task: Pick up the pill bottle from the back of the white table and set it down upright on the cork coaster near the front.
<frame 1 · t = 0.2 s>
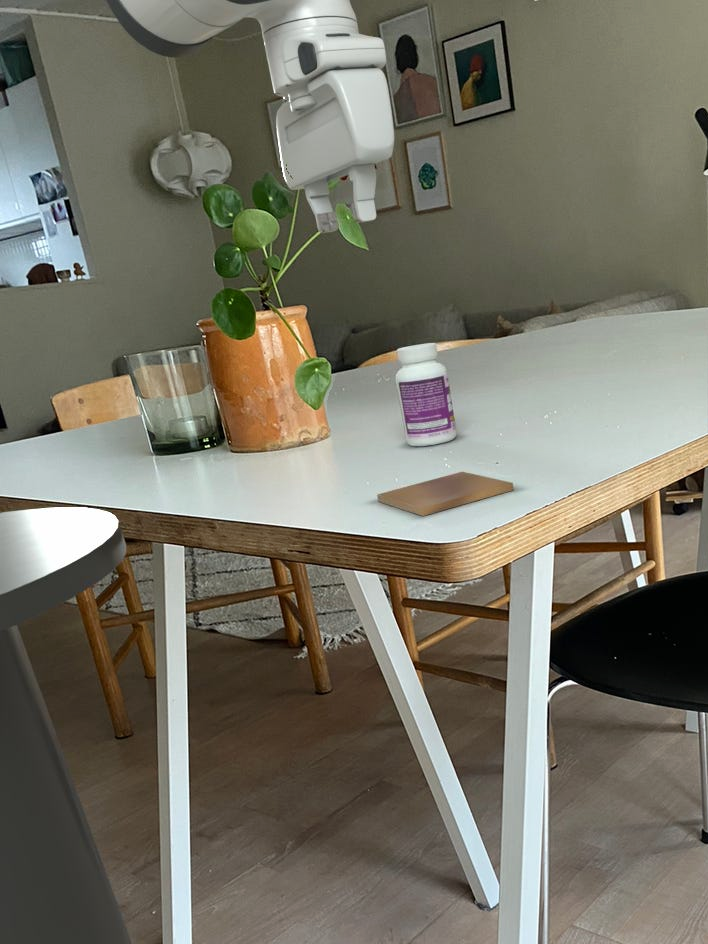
hand: (346, 227, 92), 22 cm above the table, tool pointing down, fingers open, 8 cm apart
pill bottle: (432, 443, 97), on the table
coaster: (444, 496, 73), on the table
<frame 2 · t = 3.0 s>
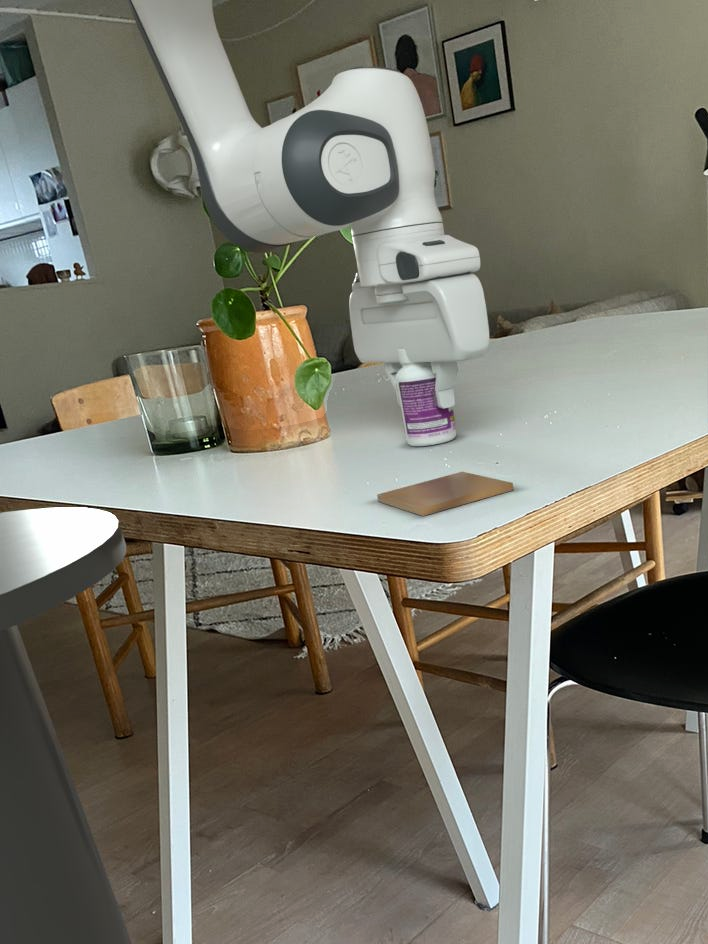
hand: (426, 406, 95), 4 cm above the table, tool pointing down, fingers closed on pill bottle, 5 cm apart
pill bottle: (432, 443, 97), on the table, touching gripper
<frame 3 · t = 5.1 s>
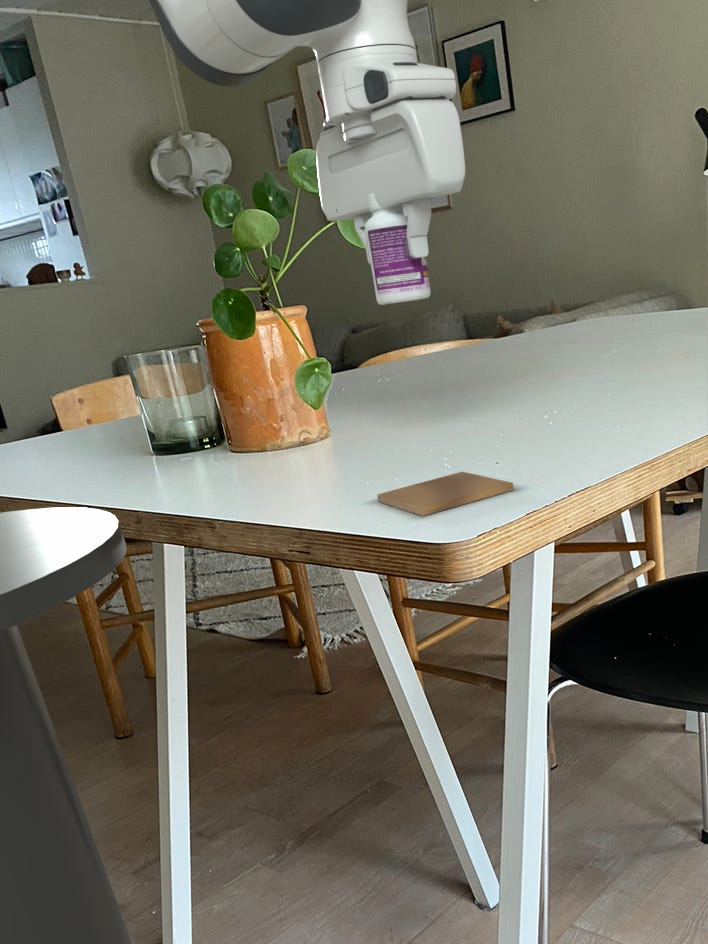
hand: (398, 261, 88), 18 cm above the table, tool pointing down, fingers closed on pill bottle, 5 cm apart
pill bottle: (405, 303, 90), point 14 cm above the table, touching gripper
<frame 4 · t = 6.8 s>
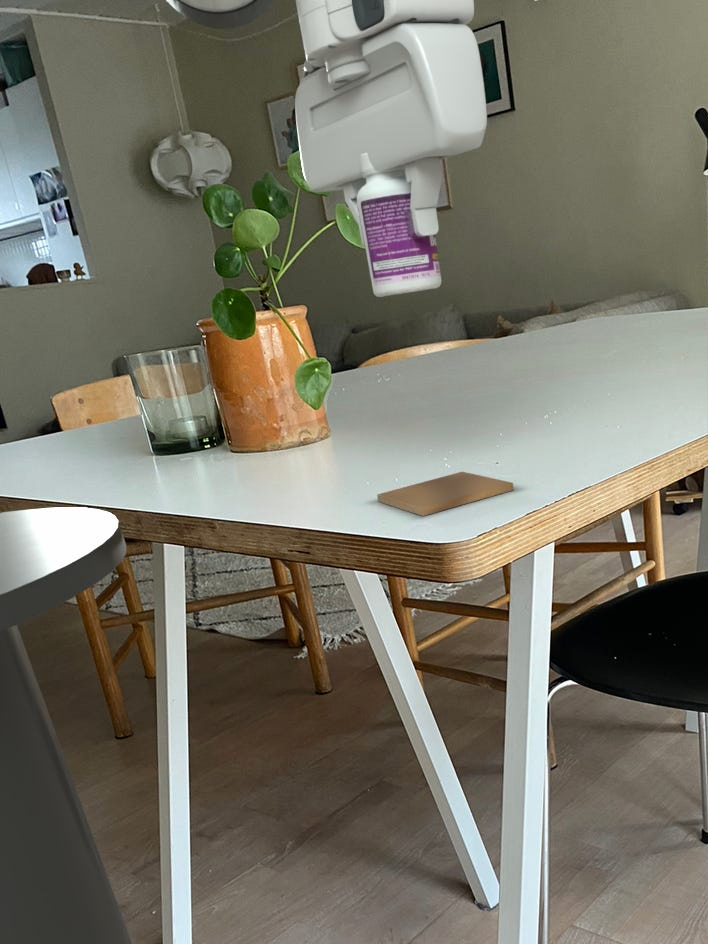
hand: (400, 241, 69), 19 cm above the table, tool pointing down, fingers closed on pill bottle, 5 cm apart
pill bottle: (409, 295, 71), point 15 cm above the table, touching gripper
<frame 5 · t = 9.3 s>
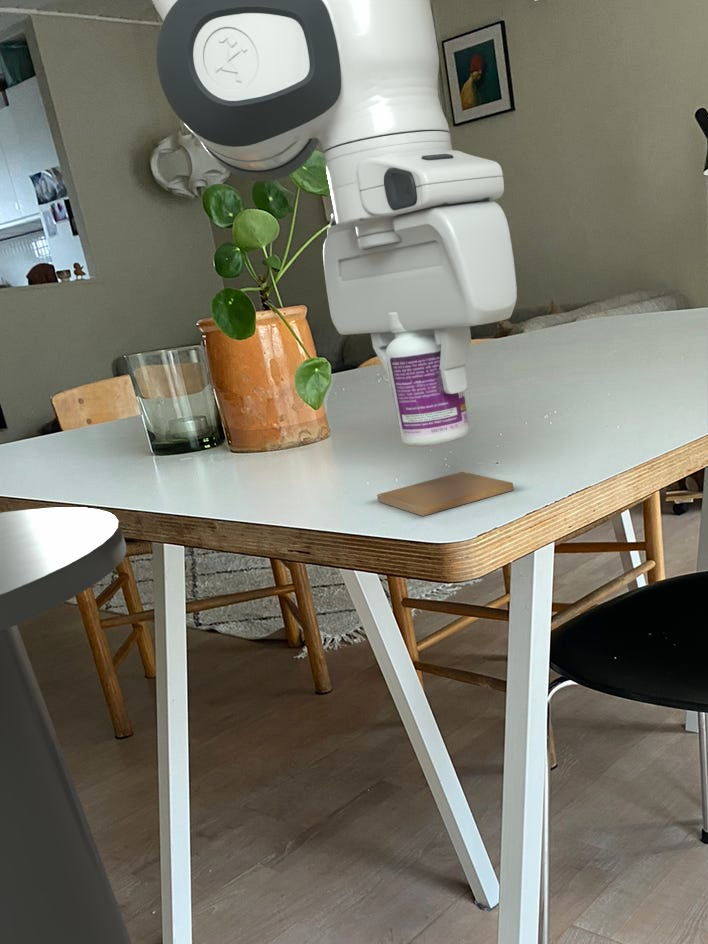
hand: (428, 391, 70), 8 cm above the table, tool pointing down, fingers closed on pill bottle, 5 cm apart
pill bottle: (437, 441, 71), point 4 cm above the table, touching gripper
when the fingers open (4 cm above the table, at t = 10.8 s): pill bottle stays where it is, resting on coaster.
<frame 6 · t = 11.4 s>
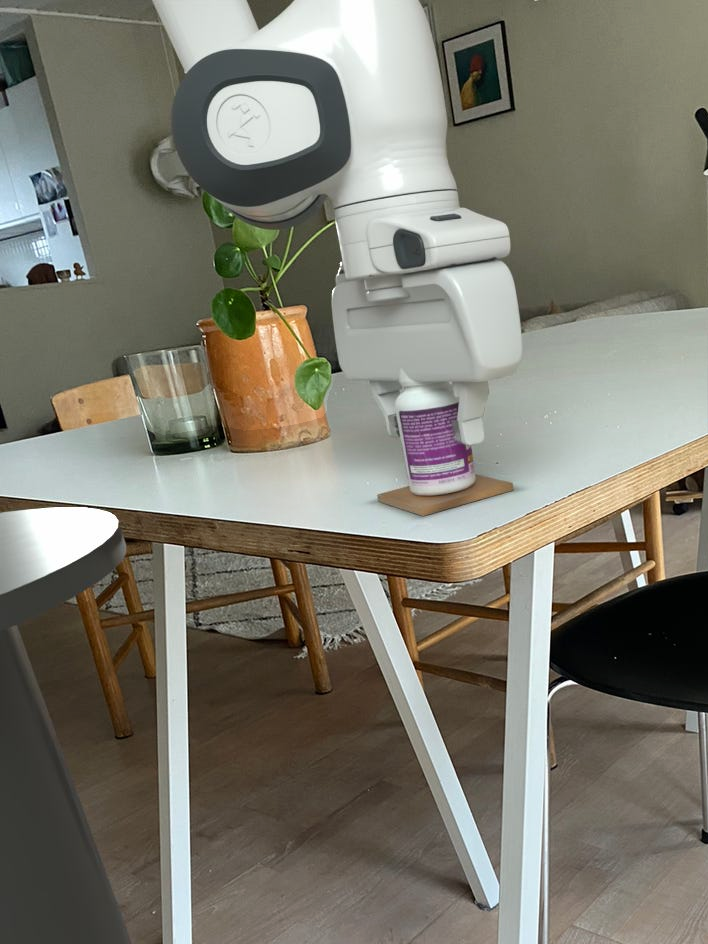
hand: (434, 439, 71), 4 cm above the table, tool pointing down, fingers open, 8 cm apart
pill bottle: (444, 490, 73), resting on coaster
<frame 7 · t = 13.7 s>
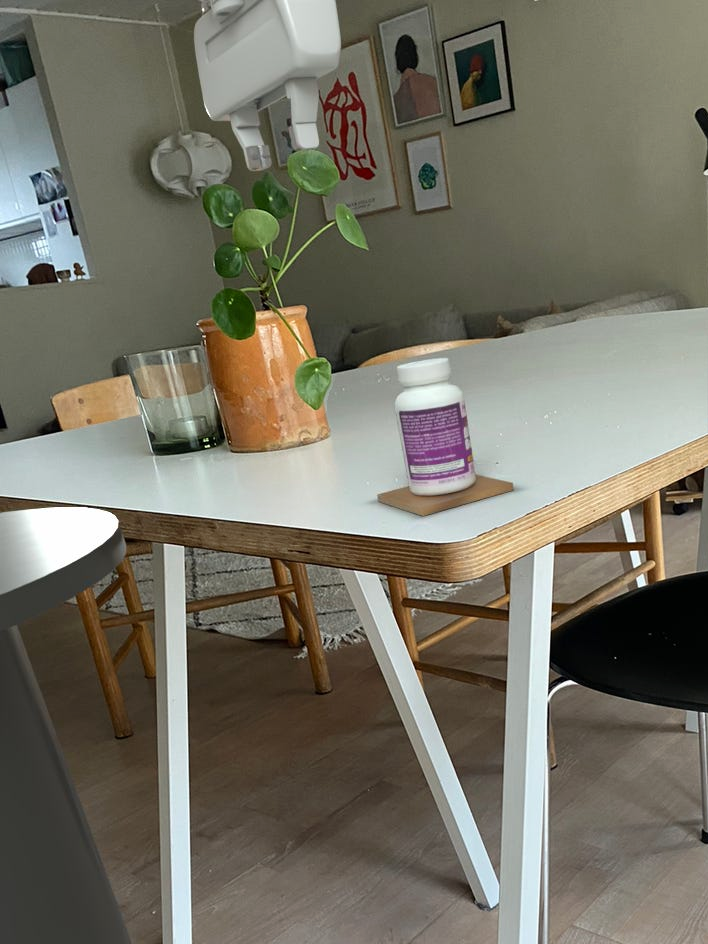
hand: (282, 160, 78), 27 cm above the table, tool pointing down, fingers open, 8 cm apart
nothing on the table moved.
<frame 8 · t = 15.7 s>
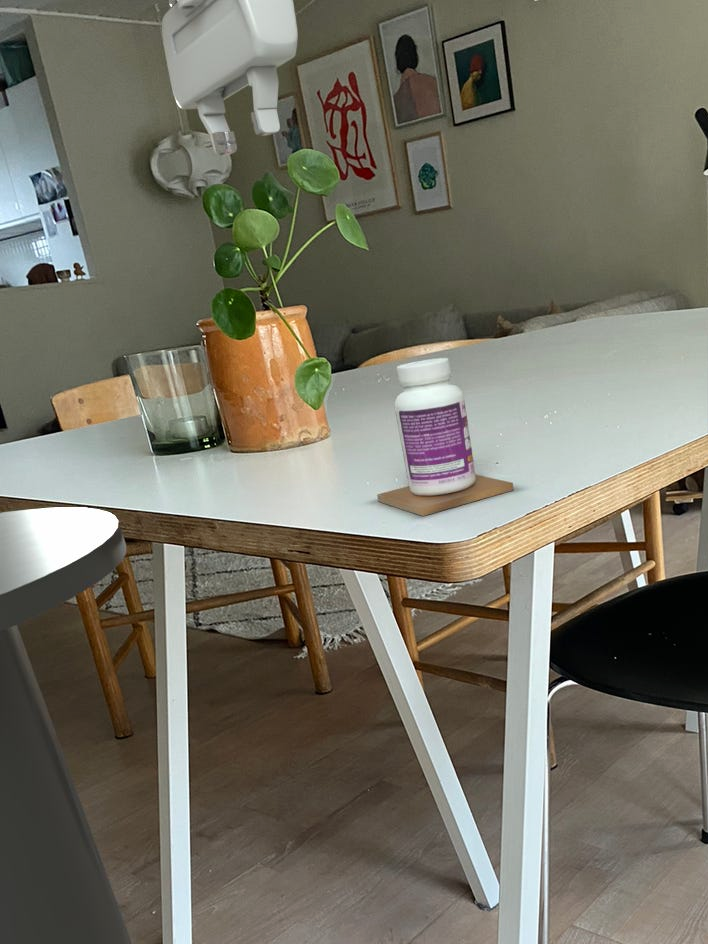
hand: (246, 144, 83), 29 cm above the table, tool pointing down, fingers open, 8 cm apart
nothing on the table moved.
at the end: pill bottle 0.1 cm off-centre on the coaster, point 0.4 cm above the coaster's base; pill bottle tilted 0°; the gripper is holding nothing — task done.
